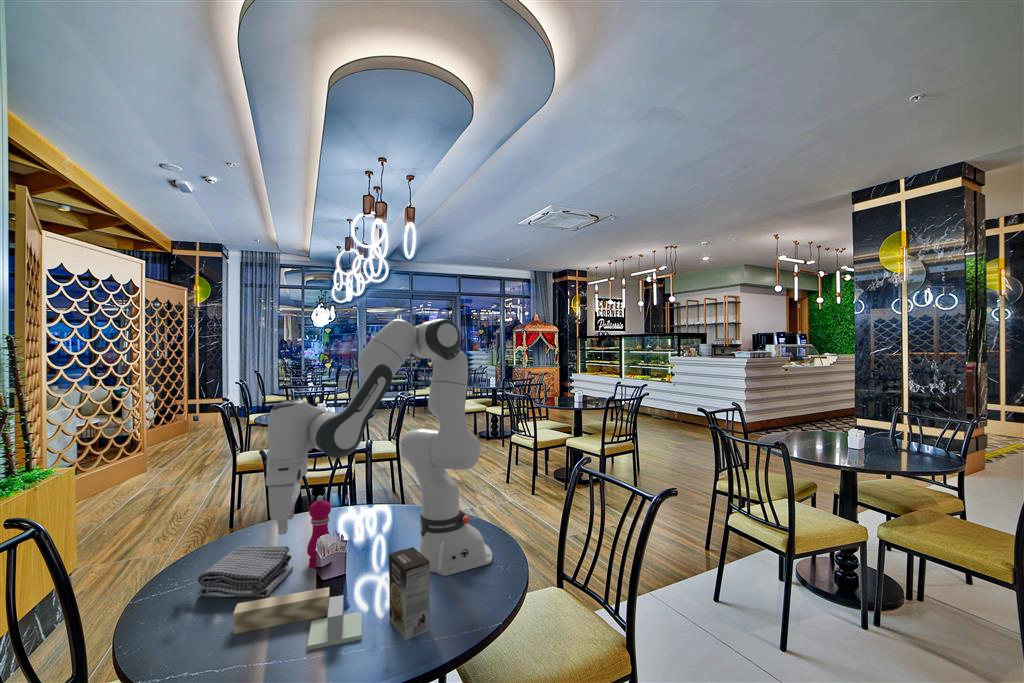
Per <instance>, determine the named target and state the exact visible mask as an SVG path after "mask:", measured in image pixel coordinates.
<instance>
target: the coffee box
mask: <svg viewBox="0 0 1024 683" xmlns="http://www.w3.org/2000/svg"><path fill="white" fill-rule="evenodd" d="M388 570H389V571H388V575H389V576H388V579H389V581H388V582H389V585H388V586H389V588H388V589H389V590H388V592H389V593H388V594H389V596H388V597H389V599H388V600H389V622H390V623H391V624H392V626H393V627H394V628H395V629H396V631H397V632H398V633H399V635H400V636H401V637H402V639H403V640H404V641H408V640H410V639H413V638H415V637H417V636H419V635H422V634H424V633H426V632H429V631H430V629H431V628H430V613H431V612H430V602H431V600H430V598H431V596H430V595H431V594H430V593H431V592H430V590H431V587H430V586H431V585H430V584H431V582H430V580H431V579H430V577H431V574H430V573H431V572H430V561H429V560H428V559H426V558H425V557H424V556H423V555H422V554H421V553H419V550H417V549H416V548H415V547H414V546H412V547H408V548H403V549H400V550H397V551H393V552H390V553H389V554H388Z"/></svg>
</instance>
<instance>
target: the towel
mask: <svg viewBox="0 0 1024 683" xmlns="http://www.w3.org/2000/svg"><path fill="white" fill-rule="evenodd" d="M289 552H290V547H289V546H287V545H281V546H264V545H261V546H260V545H257V546H255V545H252V546H250V545H242V546H241V545H240V546H238V547H236V548H235V549H233V550H231V551H230V552H229V553H227V554H226V555H225V556H224V557H222V558H220V559H219V560H218V561H217V562H215V563H214V564H213V565H211V566H209V568H207V569H206V570H205V571H203V572H202V573H201V574H200V575H199V576H198V578H197V582H198V584H199V585H201V587H200V588H199V592H198V596H201V597H206V598H243V597H244V598H246V597H249V598H250V597H251V598H252V597H255V598H257V597H259V598H267V596H269V595H270V594H271V593H272V592H273V591H274V589H275V588H276V587H277V586H278V585H279V584H280V583H281V582H282V581H283V580H284V579H285V578H286V577H287V576H288V575H289V574H290V573H291V572H292V571H293V570H294V567H293V565H291V564H289V562H290V561H291V559H292V556H293V555H291V554H288V553H289Z"/></svg>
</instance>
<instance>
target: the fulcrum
mask: <svg viewBox="0 0 1024 683" xmlns="http://www.w3.org/2000/svg"><path fill="white" fill-rule="evenodd" d="M344 603H345V602H344V594H342V595H337V596H336V595H335V596H330V600H329V609H328V615H327V616H326V617H325V618H318V619H314V620H313V619H312V620H311V623H310V629H309V635H308V638H307V639H308V640H307V644H306V645H307V647H306V649H307V651H310V650H311V651H312V650H316V649H320V648H321V649H322V648H326V647H332V646H336V645H340V644H345V643H350V642H351V643H352V642H357V641H361V640H362V639H363V638H362V634H363V633H362V624H363V623H362V620H363V618H362V611H356V612H351V613H344V612H345V611H344V608H345V607H344V605H345V604H344Z"/></svg>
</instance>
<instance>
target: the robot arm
mask: <svg viewBox="0 0 1024 683" xmlns="http://www.w3.org/2000/svg"><path fill="white" fill-rule="evenodd" d="M461 349H462V343H461V333H460V330H459V327H458V325H457V324H456V323H455V322H453V321H452V320H450V319H447V318H436V319H434V320H428V321H424V322H422V323H421V324H418V325H413V324H411V322H408V321H407V320H405V319H402V318H401V319H400V318H396V319H393V320H391V321H389V322H388V323H387V324H385V325H384V326H383V327H382V328H380V330H379V331H378V332H377V333H376V334H375V335H374V336H373V337H372V338H371V340H369V341H368V343H367V344H366V345H365V347H364V348H363V349H362V351H361V352H360V354H359V356H358V358H357V367H358V370H359V373H360V374H361V376H362V383H360V384H361V385H360V386H359V388H358V389H357V391H356V392H355V393H354V395H353V397H352V398H351V400H350V401H349V403H348V404H347V406H345V408H344V409H343V410H342V411H341V410H340V411H339V412H337V413H336V412H334V411H329V410H326V409H322V408H319V407H316V406H314V405H312V404H310V403H308V402H306V401H305V400H304V399H290V400H285V401H280V402H279V403H276V404H275V405H274V406H273V407H272V408H271V409H270V413H269V415H268V416H269V417H268V424H267V442H268V452H267V453H266V454H267V455H266V476H265V486H267V487H268V509H269V517H270V520H271V521H276V524H277V534H278V535H286V534H287V533H288V528H289V524H288V520H292V519H293V518H294V515H295V506H296V502H297V500H298V497H300V496H299V495H300V493H301V482H302V478H303V477H304V476H306V475H307V474H308V463H309V462H308V460H309V458H308V457H309V456H308V454H309V453H308V452H309V450H312V449H316V450H318V451H321V452H322V453H323V454H325V455H326V456H328V457H330V458H332V459H333V458H334V459H342V458H346V457H347V456H349V455H351V454H352V453H353V452H355V450H357V448H358V447H359V446H360V443H361V441H362V439H363V435H364V432H365V430H366V426H367V425H368V422H369V421H370V419H371V417H372V415H373V414H374V412H375V411H376V410H377V408H378V406H379V405H380V403H381V401H382V400H383V398H384V396H386V393H387V392H388V390H389V388H390V387H391V384H392V382H393V379H394V378H395V377H394V376H396V373H397V372H399V369H400V368H401V366H402V365H403V364H404V363H405V361H406V360H407V359H408V357H412V358H414V359H419V360H425V359H430V362H431V365H432V375H431V376H432V377H431V381H430V388H429V394H428V399H427V406H428V407H427V408H428V410H429V411H430V412H431V413H432V415H434V416H435V417H437V420H438V423H439V429H436V428H428V427H427V428H425V427H423V428H416V429H411V430H408V431H407V432H406V433H405V434H404V436H403V438H402V439H401V441H400V442H401V444H400V453H401V455H402V457H403V459H404V460H405V461H406V462H407V463H408V464H409V465H410V466H411V468H412V469H413V472H414V474H415V476H416V478H417V480H418V481H417V482H418V484H419V488H420V496H421V497H420V498H421V499H420V500H421V513H420V516H419V533H420V542H419V543H420V544H419V548H418V552H419V553H421V554H422V555H423V556H424V557H425V558H426V559H428V560H429V561H430V573H436V574H438V575H440V576H444V577H447V576H451V575H454V574H458V573H461V572H465V571H468V570H471V569H475V568H478V567H479V568H480V567H482V566H486V565H490V564H491V563H492V561H493V559H494V558H493V551H492V550H491V547H489V546H488V544H486V543H485V541H484V538H483V536H482V534H481V532H480V531H479V530H478V528H475V527H474V526H472V525H471V524H470V522H471V519H470V517H469V516H468V515H467V514H466V512H465V511H463V509H461V508H460V489H459V485H458V483H457V482H456V481H455V480H454V479H453V478H452V477H451V476H450V475H449V474H448V472H447V470H453V471H462V470H463V471H464V470H471V469H473V468H474V467H475V466H476V465H477V464H478V462H479V460H480V458H481V453H482V447H481V444H480V443H481V442H480V440H479V439H478V437H477V436H476V435H474V433H473V432H472V430H471V429H470V426H469V424H468V422H467V418H466V417H467V416H466V399H467V389H468V380H469V379H468V378H469V362H468V357H467V355H466V354H465V352H463V351H462V350H461Z"/></svg>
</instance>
